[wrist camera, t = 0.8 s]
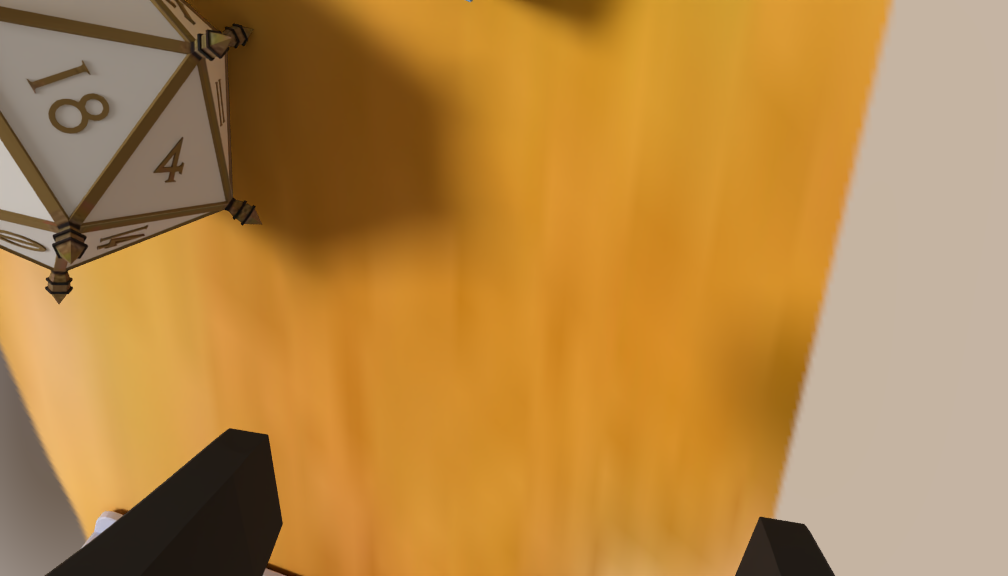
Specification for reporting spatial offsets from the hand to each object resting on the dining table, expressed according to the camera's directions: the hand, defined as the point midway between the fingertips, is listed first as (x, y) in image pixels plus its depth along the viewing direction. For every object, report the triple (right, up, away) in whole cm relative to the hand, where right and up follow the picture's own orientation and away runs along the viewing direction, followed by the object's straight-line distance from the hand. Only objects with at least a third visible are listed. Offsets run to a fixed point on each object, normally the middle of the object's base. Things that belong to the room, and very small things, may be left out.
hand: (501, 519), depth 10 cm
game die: (-9, +10, +9) cm, 16 cm away
